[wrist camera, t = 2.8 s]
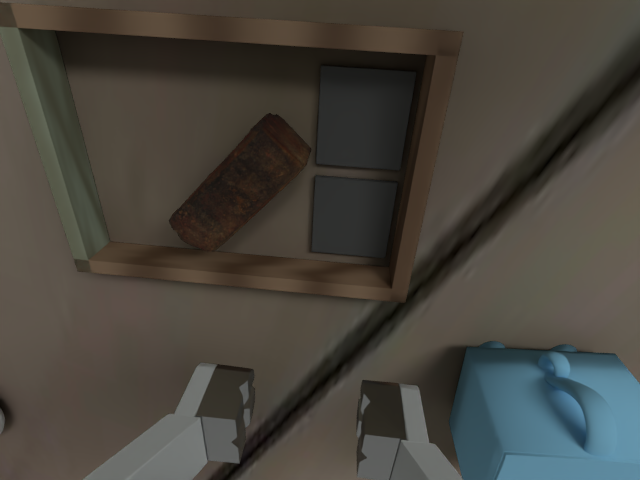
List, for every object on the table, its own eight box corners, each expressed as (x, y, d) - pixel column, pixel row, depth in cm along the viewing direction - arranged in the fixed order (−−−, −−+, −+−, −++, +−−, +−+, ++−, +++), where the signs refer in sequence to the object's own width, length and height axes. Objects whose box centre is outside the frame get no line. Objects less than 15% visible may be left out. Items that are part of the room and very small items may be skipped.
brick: (273, 106, 25) (257, 120, 21) (313, 148, 27) (306, 169, 22) (185, 201, 30) (158, 228, 25) (223, 234, 31) (203, 264, 27)
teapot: (441, 423, 40) (475, 575, 29) (467, 311, 32) (526, 459, 21) (617, 434, 39) (725, 598, 27) (687, 320, 31) (877, 483, 20)
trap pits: (415, 71, 23) (416, 72, 23) (384, 255, 30) (385, 258, 30) (321, 65, 24) (321, 65, 23) (312, 248, 30) (311, 251, 30)
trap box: (450, 31, 22) (463, 31, 20) (400, 280, 31) (405, 302, 29) (30, 5, 23) (-11, 1, 21) (100, 252, 32) (77, 271, 30)
